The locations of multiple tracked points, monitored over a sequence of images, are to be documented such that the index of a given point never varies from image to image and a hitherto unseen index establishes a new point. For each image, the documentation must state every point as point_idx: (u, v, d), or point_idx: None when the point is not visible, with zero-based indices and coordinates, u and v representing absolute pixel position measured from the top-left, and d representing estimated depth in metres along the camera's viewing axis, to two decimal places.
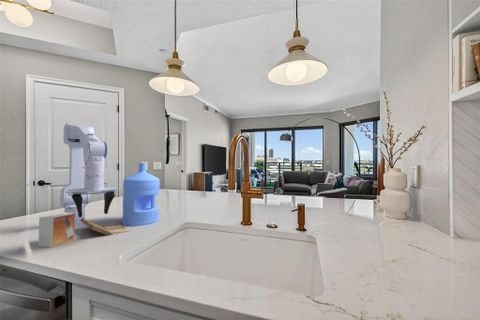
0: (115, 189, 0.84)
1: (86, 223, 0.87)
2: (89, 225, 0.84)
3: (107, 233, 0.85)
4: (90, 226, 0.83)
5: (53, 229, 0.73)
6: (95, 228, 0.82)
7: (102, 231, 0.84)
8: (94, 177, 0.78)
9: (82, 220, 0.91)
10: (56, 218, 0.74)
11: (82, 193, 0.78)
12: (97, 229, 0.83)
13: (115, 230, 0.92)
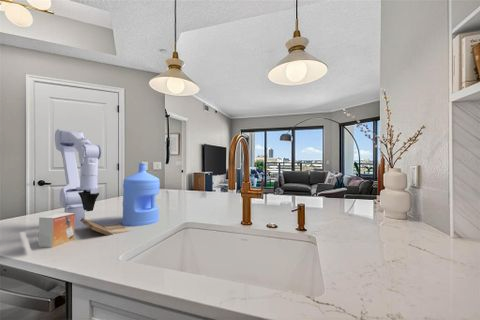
0: (90, 190, 0.85)
1: (86, 223, 0.87)
2: (89, 225, 0.84)
3: (107, 233, 0.85)
4: (90, 226, 0.83)
5: (53, 229, 0.73)
6: (95, 228, 0.82)
7: (102, 231, 0.84)
8: (80, 176, 0.88)
9: (82, 220, 0.91)
10: (56, 218, 0.74)
11: (85, 189, 0.92)
12: (97, 229, 0.83)
13: (115, 230, 0.92)
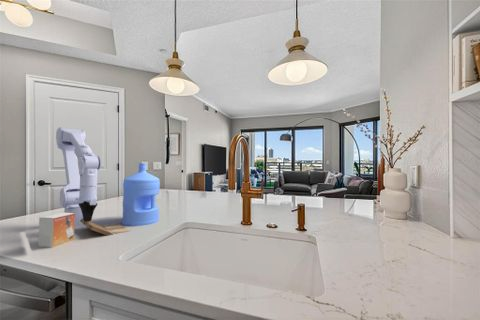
0: (89, 201, 0.85)
1: (86, 224, 0.87)
2: (89, 226, 0.84)
3: (107, 233, 0.85)
4: (90, 227, 0.83)
5: (53, 229, 0.73)
6: (95, 228, 0.82)
7: (102, 231, 0.84)
8: (79, 187, 0.88)
9: (82, 220, 0.91)
10: (56, 218, 0.74)
11: None
12: (97, 229, 0.83)
13: (115, 230, 0.92)
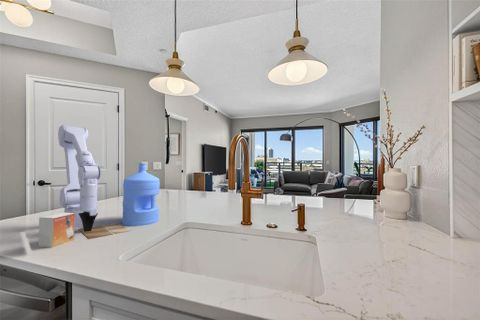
0: (89, 212, 0.85)
1: None
2: None
3: None
4: None
5: (53, 229, 0.73)
6: None
7: None
8: (79, 197, 0.88)
9: None
10: (56, 218, 0.74)
11: None
12: None
13: (115, 230, 0.92)
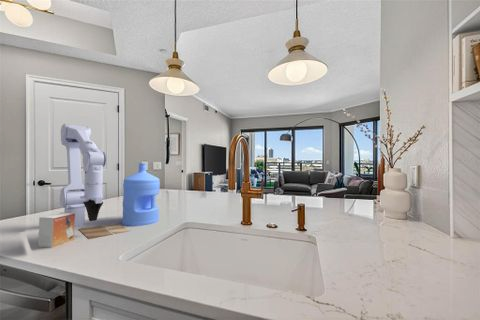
0: (95, 199, 0.80)
1: None
2: None
3: None
4: None
5: (53, 229, 0.73)
6: None
7: None
8: (84, 185, 0.84)
9: None
10: (56, 218, 0.74)
11: None
12: None
13: (115, 230, 0.92)
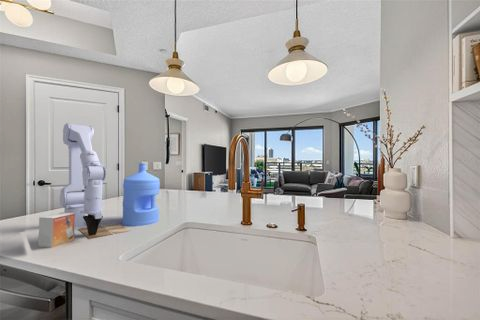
0: (94, 215, 0.80)
1: None
2: None
3: None
4: None
5: (53, 229, 0.73)
6: None
7: None
8: (84, 199, 0.84)
9: None
10: (56, 218, 0.74)
11: None
12: None
13: (115, 230, 0.92)
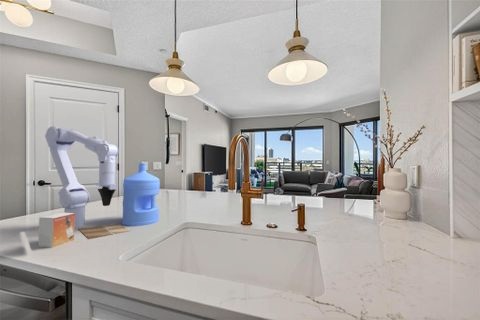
0: (109, 186, 0.90)
1: None
2: None
3: None
4: None
5: (53, 229, 0.73)
6: None
7: None
8: (99, 173, 0.93)
9: None
10: (56, 218, 0.74)
11: (103, 186, 0.97)
12: None
13: (115, 230, 0.92)
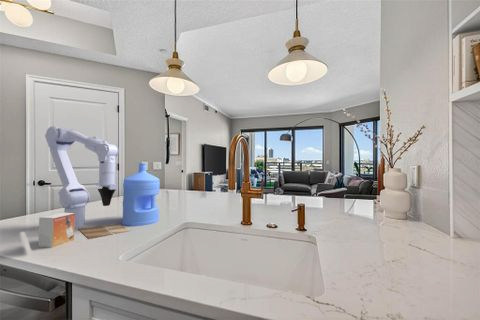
0: (109, 186, 0.90)
1: None
2: None
3: None
4: None
5: (53, 229, 0.73)
6: None
7: None
8: (99, 173, 0.93)
9: None
10: (56, 218, 0.74)
11: (103, 186, 0.97)
12: None
13: (115, 230, 0.92)
